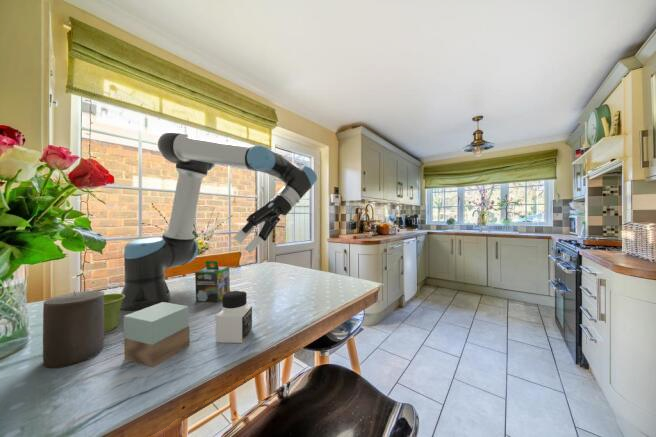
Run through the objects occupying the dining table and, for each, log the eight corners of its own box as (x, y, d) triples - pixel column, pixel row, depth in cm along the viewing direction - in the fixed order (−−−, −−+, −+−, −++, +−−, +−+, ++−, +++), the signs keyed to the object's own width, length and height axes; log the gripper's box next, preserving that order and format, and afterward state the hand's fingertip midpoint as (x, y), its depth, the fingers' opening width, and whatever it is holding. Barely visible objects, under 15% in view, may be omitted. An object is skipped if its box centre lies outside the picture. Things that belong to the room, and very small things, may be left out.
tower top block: (123, 337, 54) (123, 315, 53) (162, 320, 62) (162, 301, 62) (152, 344, 51) (152, 321, 51) (188, 326, 59) (188, 306, 59)
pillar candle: (48, 374, 48) (48, 301, 48) (38, 358, 53) (38, 292, 53) (110, 351, 57) (111, 289, 56) (96, 339, 62) (97, 282, 61)
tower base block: (124, 359, 54) (124, 338, 53) (163, 339, 62) (163, 320, 62) (153, 368, 51) (152, 345, 51) (189, 345, 59) (189, 326, 59)
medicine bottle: (242, 343, 60) (242, 296, 60) (215, 343, 60) (214, 296, 60) (252, 329, 67) (252, 288, 67) (227, 329, 67) (227, 287, 67)
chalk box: (230, 294, 97) (230, 258, 96) (217, 302, 88) (217, 263, 87) (209, 293, 98) (209, 257, 97) (194, 301, 88) (194, 262, 88)
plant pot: (121, 318, 74) (121, 291, 74) (128, 327, 68) (128, 298, 68) (78, 329, 67) (77, 299, 67) (81, 341, 61) (81, 308, 61)
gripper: (290, 190, 73) (240, 243, 66) (294, 219, 96) (258, 260, 89) (271, 177, 74) (221, 227, 67) (280, 208, 97) (243, 248, 90)
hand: (242, 246), depth 78 cm, fingers open, 13 cm apart
